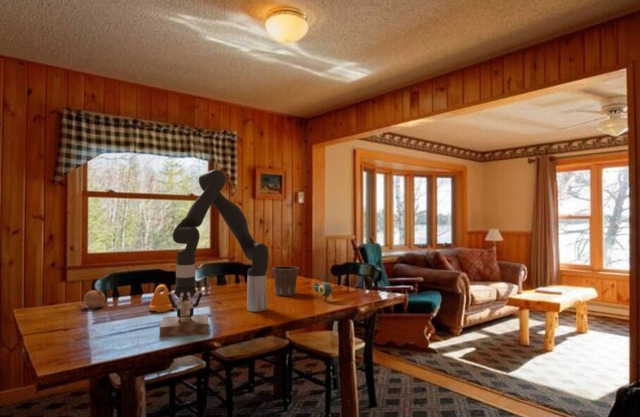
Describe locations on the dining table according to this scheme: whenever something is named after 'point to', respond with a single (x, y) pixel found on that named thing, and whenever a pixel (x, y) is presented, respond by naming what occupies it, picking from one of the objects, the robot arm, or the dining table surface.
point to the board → (184, 326)
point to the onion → (94, 299)
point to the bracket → (160, 300)
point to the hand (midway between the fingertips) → (185, 317)
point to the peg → (185, 311)
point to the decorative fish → (323, 288)
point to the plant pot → (285, 280)
